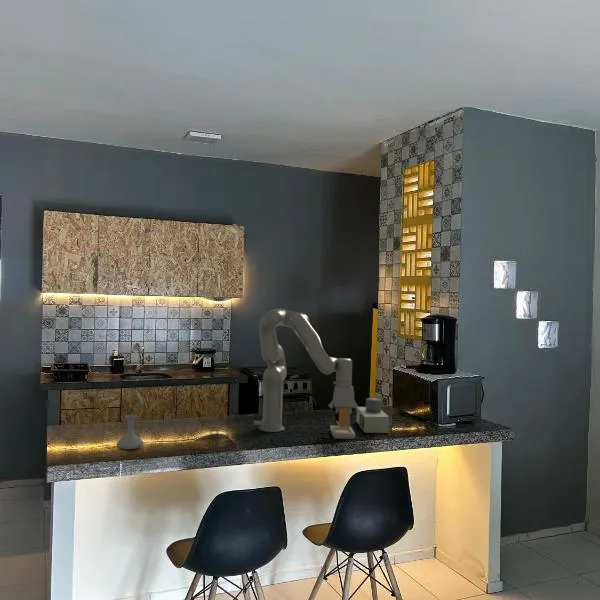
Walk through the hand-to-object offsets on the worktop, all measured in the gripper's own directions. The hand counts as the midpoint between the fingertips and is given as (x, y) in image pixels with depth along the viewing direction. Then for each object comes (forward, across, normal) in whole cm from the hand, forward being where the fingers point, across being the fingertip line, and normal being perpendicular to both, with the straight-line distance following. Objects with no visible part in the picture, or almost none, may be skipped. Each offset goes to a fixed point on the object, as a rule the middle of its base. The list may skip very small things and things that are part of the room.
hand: (343, 420), depth 295 cm
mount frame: (+7, 0, 0) cm, 7 cm away
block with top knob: (+7, +18, +17) cm, 26 cm away
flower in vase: (+6, -96, -27) cm, 100 cm away
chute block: (+2, 0, 0) cm, 2 cm away
